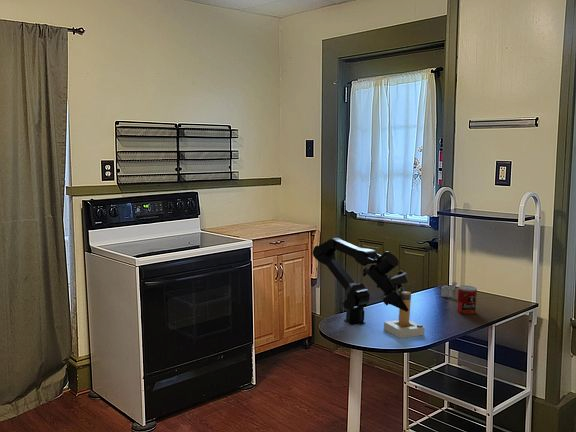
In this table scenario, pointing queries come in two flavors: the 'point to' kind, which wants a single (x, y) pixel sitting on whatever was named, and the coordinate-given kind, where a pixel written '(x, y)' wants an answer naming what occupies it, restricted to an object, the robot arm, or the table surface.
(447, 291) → the lighter
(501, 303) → the table surface
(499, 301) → the table surface
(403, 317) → the plug
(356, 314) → the robot arm
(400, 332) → the socket block
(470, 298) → the canned food
